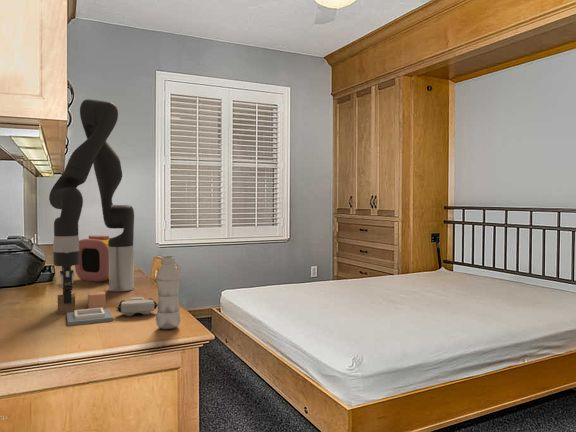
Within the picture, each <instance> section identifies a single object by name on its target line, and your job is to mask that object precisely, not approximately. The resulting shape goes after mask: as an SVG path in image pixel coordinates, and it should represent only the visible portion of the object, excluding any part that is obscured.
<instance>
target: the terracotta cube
mask: <svg viewBox="0 0 576 432" xmlns="http://www.w3.org/2000/svg"><path fill="white" fill-rule="evenodd" d="M106 304H107V301H106V292H105V291H102V290H101V291H94V292H93V291H91V292H90V291H89V292H87V307H88V308H87V309H92V308H103V309H107V307H106V306H107V305H106Z"/></svg>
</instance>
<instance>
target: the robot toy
mask: <svg viewBox="0 0 576 432" xmlns="http://www.w3.org/2000/svg"><path fill="white" fill-rule="evenodd" d="M157 308H158V302H156V301H155V299H153V298H148V299H146V298H144V296H135V297H133V296H132V297H130V298H129V299H128V300H124V299H123V300H120V301H119V302H118V305H116V310H118V311H119V312H120V313H121V314H123V315H125V316H127V317H130V316H131V317H132V316H134V315H135V314H142V316H144V315H145V316H146V314H147V315H149V314H151V312H154V311H155V310H157Z"/></svg>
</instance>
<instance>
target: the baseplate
mask: <svg viewBox="0 0 576 432" xmlns="http://www.w3.org/2000/svg"><path fill="white" fill-rule="evenodd" d="M66 318H67V319H66V320H67V321H66V322H67V327H71V326H79V325H86V324H87V325H88V324H95V323H104V322H113V321H114V317H113V315H112V313H111V310H110V308H106V309H103V308H92V309H89V308H85V309H75V310H74V312H69V313H66Z"/></svg>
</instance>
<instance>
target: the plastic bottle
mask: <svg viewBox="0 0 576 432" xmlns="http://www.w3.org/2000/svg"><path fill="white" fill-rule="evenodd" d="M160 264H161V266H160V268H159V270H158V271H157V272H156V275H155V278H156V279H155V280H156V286H157V287H156V288H157V299H158V300H157V304H158V306H157V309H156V310H157V312H156V315H155V322H156V323H155V324H156V326H157V328H158V329H161V330H171V329H172V330H173V329H176V328H178V327H179V325H180V324H181V319H182V318H181V311H180V304H179V294H180V293H179V292H180V291H179V289H180V283H181V282H180V281H181V272H180V270H179V269H178V268H177V267H176V266H175V264H176V257H175V256H174V255H165V256H161V257H160Z"/></svg>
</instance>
